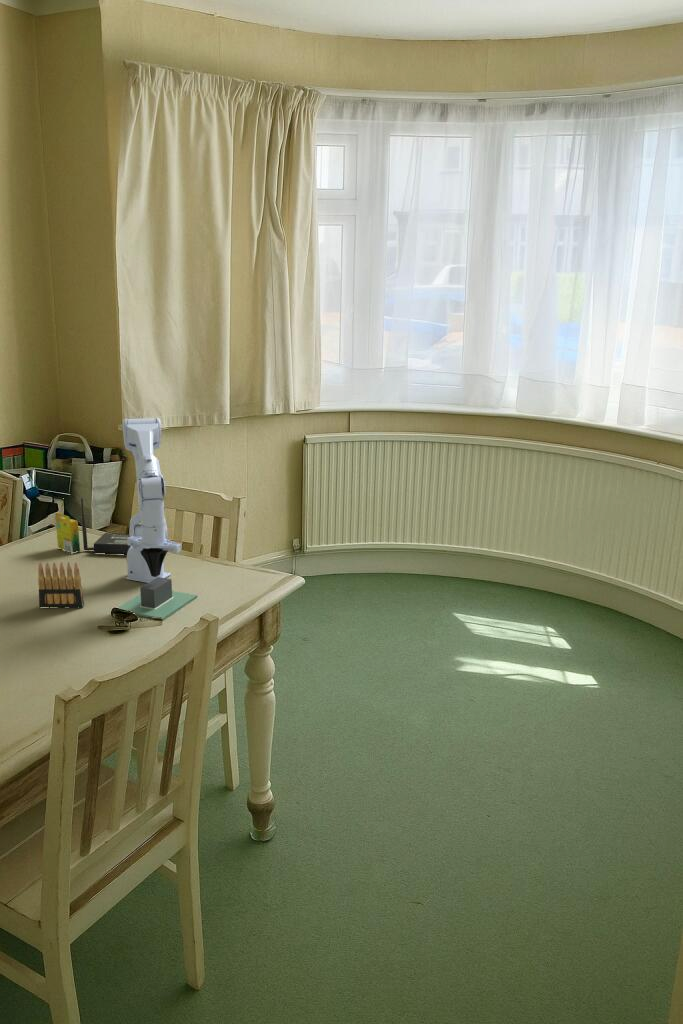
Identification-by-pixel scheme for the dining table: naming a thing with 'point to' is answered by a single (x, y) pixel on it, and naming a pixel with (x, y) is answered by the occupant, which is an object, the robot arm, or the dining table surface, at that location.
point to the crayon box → (67, 533)
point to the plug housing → (156, 592)
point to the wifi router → (106, 541)
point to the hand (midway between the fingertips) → (155, 575)
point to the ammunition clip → (60, 587)
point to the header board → (162, 610)
